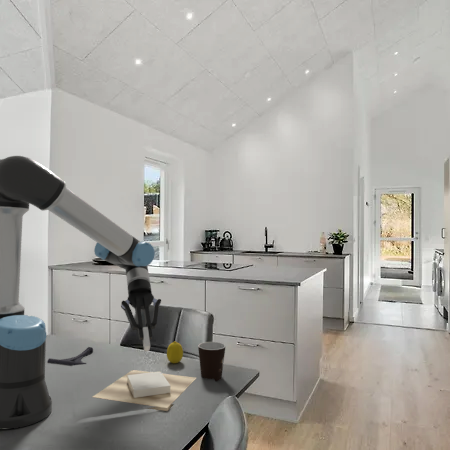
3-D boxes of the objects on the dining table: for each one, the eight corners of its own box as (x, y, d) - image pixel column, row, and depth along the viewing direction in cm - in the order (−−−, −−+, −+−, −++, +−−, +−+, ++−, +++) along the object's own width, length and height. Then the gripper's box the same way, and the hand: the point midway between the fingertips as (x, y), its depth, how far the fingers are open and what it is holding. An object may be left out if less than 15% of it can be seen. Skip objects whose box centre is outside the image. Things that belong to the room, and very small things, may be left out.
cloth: (167, 411, 102) (167, 408, 102) (92, 399, 108) (92, 396, 108) (196, 380, 123) (196, 377, 123) (132, 372, 129) (132, 369, 130)
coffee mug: (215, 385, 120) (215, 351, 120) (192, 379, 125) (192, 346, 125) (235, 373, 130) (235, 342, 130) (212, 368, 134) (213, 338, 134)
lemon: (186, 364, 137) (186, 341, 138) (173, 368, 133) (174, 344, 134) (175, 361, 141) (176, 338, 141) (163, 364, 137) (163, 341, 137)
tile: (127, 375, 119) (134, 390, 108) (160, 371, 123) (170, 385, 111) (127, 382, 119) (133, 398, 108) (160, 378, 123) (170, 393, 111)
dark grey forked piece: (108, 355, 148) (108, 347, 148) (83, 368, 134) (83, 360, 134) (75, 352, 152) (75, 344, 152) (47, 364, 138) (47, 356, 138)
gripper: (156, 290, 139) (166, 353, 124) (117, 292, 135) (123, 357, 119) (160, 277, 134) (171, 340, 119) (120, 278, 130) (126, 344, 114)
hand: (147, 348), depth 119 cm, fingers closed
